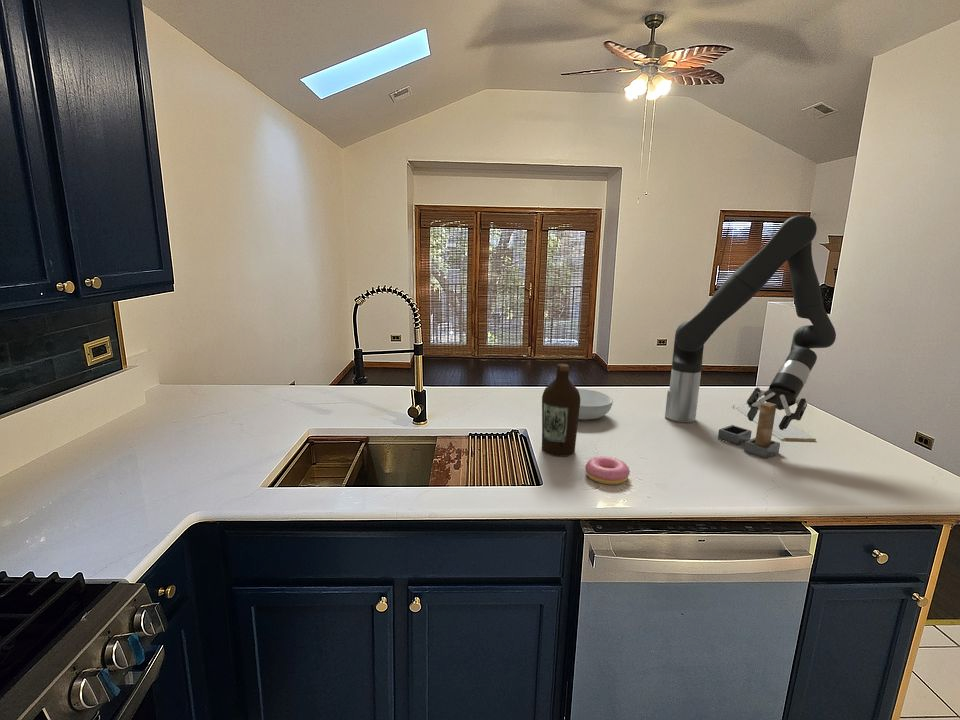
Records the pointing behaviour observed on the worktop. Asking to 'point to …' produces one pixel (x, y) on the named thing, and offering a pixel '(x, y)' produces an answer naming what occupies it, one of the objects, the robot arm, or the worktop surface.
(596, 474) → the doughnut
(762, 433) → the slat
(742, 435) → the endcap
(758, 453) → the endcap
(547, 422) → the olive oil
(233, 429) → the worktop surface
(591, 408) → the serving bowl
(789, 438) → the baseboard
